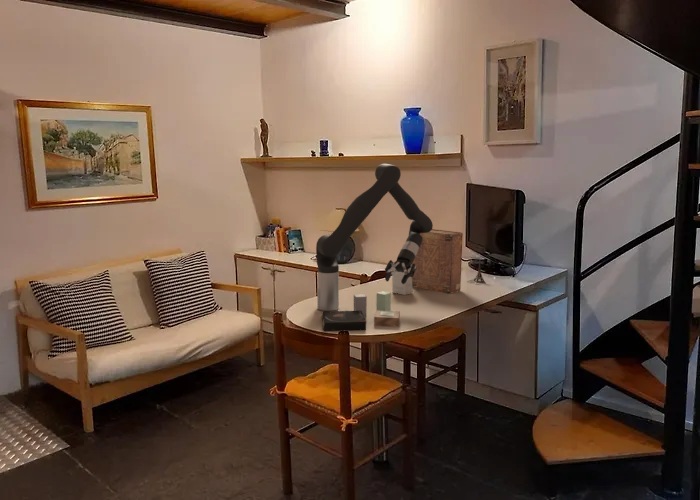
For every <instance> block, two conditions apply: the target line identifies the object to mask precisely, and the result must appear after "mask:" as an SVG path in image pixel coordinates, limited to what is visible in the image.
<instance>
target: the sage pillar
mask: <svg viewBox="0 0 700 500" xmlns="http://www.w3.org/2000/svg"><path fill="white" fill-rule="evenodd" d="M391 298H392V293H391V292H389V291H383V290H381V291H379V292H376V304H375V305H376V310H379V311H392V310H391V308H392V307H391V304H392V299H391ZM376 310H375V311H376Z"/></svg>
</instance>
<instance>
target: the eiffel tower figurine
mask: <svg viewBox="0 0 700 500" xmlns="http://www.w3.org/2000/svg"><path fill="white" fill-rule="evenodd" d="M478 263H479V264H478V269H477V274H476V275H475V278H472V279H470V280H467V281H466V283H468V284H476V286H477V285H479V286H480V284H481V283H485V284H486V283H487V282H486V281H485V280H484V277H483V275H482V271H481V269H482V267H481V263H482V261H481V260H479V262H478Z"/></svg>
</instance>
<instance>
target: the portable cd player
mask: <svg viewBox="0 0 700 500" xmlns="http://www.w3.org/2000/svg"><path fill="white" fill-rule="evenodd" d="M321 323H322V330H323V331H324V332H342V331H341V330H347V331H346V332H351V331H353V332H354V331H366V330H367V321H366V317H364V316H363V313H362V311H354V310H334V311H322V313H321Z"/></svg>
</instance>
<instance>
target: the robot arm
mask: <svg viewBox="0 0 700 500" xmlns="http://www.w3.org/2000/svg"><path fill="white" fill-rule="evenodd" d="M374 175H375V179H376V180H375V183H374V184H373V185H371V186H370V188H368V189H366V190H365V191H364V192H362V193H361V194H359V195H358V196H357V197H355V199H354V200H353V201H352V202H351V204H349V206H348V207H347V208H346V210H345V212H344V213H343V216H342V218H341V220H340V222H339V224H338V226H337V227H336V228H335V229H334V230H333V232H332V233H331V234H324V235H321V236H320V237H319V238H318V239H317V241H316V245H315V251H316V252H315V253H316V255H315V256H316V265H317V278H318V279H317V291H316V292H317V300H316V301H317V310H318V311H322V312H324V311H338V310H339V305H340V304H339V303H340V302H339V293H340V291H339V290H340V288H339V287H340V285H339V283H340V282H339V281H340V279H339V277H340V275H339V274H340V271H339V269H340V267H339V266H340V265H339V264H338V261H337V256H338V254H340V253H341V251H342V250H343V249H344V247H345V245H346V243H347V242H348V241H349V239H350V238H351V236H352V235H353V234H354V233H355V232H356V230H357V229H359V227H360V226H361V225H362V223H364V221H365V220H366V219H367V217H368V216H369V215H370V214H371V213H372V211H373V210H374V209H375V207H377V206H378V204H379V203H380V202H381V200H382V199H383V197H385V196H386V194H387V193H389V195H391V197H392V198H393V199H394V200H395V202H396V203H397V204H398V206H399V208H400V209H401V211H402V212H403V214H404V215H405V216H406V218H407V219H408V220H411V221H412V222H411V223H410V225H409V230H408V235H407V236H408V237H407V238H406V240H405V242H404V244H403V245H402V247H401V249H400V251H399V253H398V255H397V257H396V260H395V261H393V260H391V259H390V260H389V261H388V263H387V265H386V267H385V268H384V271H385V273H386V275H385V276H384V278H385V279H384V280H385V282H389V281H390V279H391V277H392V274H393V273H396V272H397V271H398V272H403V273H404V272H405V275H404V276H403V278H402V280H401V283H402V284H405V283H406V281H407V279H408V278H409V277H413V276H414V273H415V271H416V268H417V267H416V265H415V264H412V263H413V261H414V259H415V257H416V255H417V253H418V250H419V248H420V245H421V243H422V241H423V238H422V236H421V235H420V233H428V232H430V231H431V230H432V229H434V228H433V227H434V226H433V222H432V220H431V217H429V216H428V215H427V214H426V213H424V211H422V210H421V209H420V208H419V206H418V204H417V203H416V201H415V199H413V198H412V197H411V195H410V194H409V193H408V192H407V191H406V190H405V189H404V188H403V187H402V186H401V185H400V183H399V181H400V179H401V175H402V173H401V169H400V168H399V167H398V166H396V165H394V164H390V163H389V164H388V163H381V164H379V165H378V166H376V168H375V170H374ZM393 265H394V266H393ZM394 268H395V269H396V270H394ZM410 268H411V270H410V272H409V273H408V269H410ZM392 270H393V271H392Z"/></svg>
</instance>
